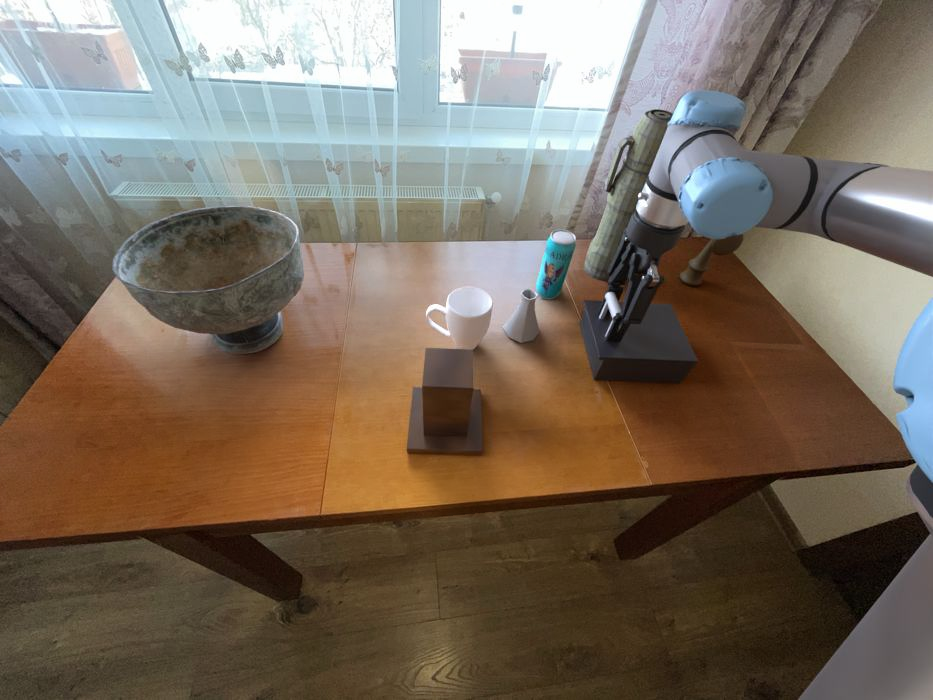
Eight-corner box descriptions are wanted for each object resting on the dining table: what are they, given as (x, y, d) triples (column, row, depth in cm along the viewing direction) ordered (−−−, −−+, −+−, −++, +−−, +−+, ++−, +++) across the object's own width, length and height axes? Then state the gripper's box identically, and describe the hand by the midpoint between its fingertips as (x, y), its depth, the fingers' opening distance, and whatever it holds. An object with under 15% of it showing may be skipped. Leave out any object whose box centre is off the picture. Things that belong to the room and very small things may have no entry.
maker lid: (598, 359, 71) (611, 332, 66) (582, 302, 81) (593, 275, 76) (696, 363, 72) (717, 337, 67) (668, 307, 82) (685, 279, 77)
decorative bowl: (150, 388, 68) (78, 297, 53) (188, 291, 84) (141, 201, 70) (314, 373, 73) (290, 288, 59) (320, 285, 90) (302, 201, 75)
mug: (484, 328, 83) (491, 286, 74) (488, 359, 78) (495, 317, 69) (426, 328, 82) (426, 284, 73) (426, 359, 77) (425, 316, 68)
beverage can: (532, 297, 90) (546, 240, 79) (537, 282, 94) (551, 225, 83) (557, 304, 89) (575, 247, 78) (561, 288, 93) (579, 232, 82)
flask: (520, 313, 87) (529, 276, 79) (545, 332, 83) (556, 296, 76) (496, 327, 83) (502, 291, 76) (520, 348, 80) (530, 312, 72)
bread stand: (480, 393, 72) (489, 337, 61) (481, 455, 64) (492, 404, 53) (413, 391, 72) (410, 334, 60) (406, 453, 64) (401, 401, 52)
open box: (593, 380, 76) (603, 360, 71) (579, 323, 86) (587, 303, 81) (680, 383, 77) (696, 364, 72) (656, 327, 87) (668, 307, 82)
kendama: (684, 293, 95) (731, 217, 80) (670, 267, 101) (712, 193, 86) (708, 294, 95) (760, 219, 80) (693, 269, 102) (739, 194, 86)
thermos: (630, 280, 97) (704, 124, 70) (583, 281, 95) (642, 122, 69) (617, 258, 103) (682, 106, 76) (573, 258, 101) (623, 104, 75)
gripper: (618, 182, 64) (580, 291, 82) (654, 254, 52) (599, 365, 69) (664, 185, 65) (616, 293, 82) (711, 257, 52) (642, 366, 70)
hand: (608, 326), depth 76 cm, fingers closed on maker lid, 6 cm apart
